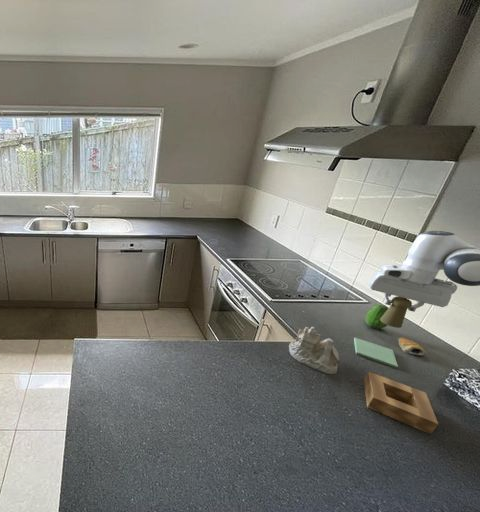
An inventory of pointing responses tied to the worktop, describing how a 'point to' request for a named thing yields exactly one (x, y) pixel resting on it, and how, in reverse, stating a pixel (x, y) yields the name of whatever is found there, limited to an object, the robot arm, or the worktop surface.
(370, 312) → the avocado
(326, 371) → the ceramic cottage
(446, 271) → the robot arm
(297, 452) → the worktop surface
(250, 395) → the worktop surface
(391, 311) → the cork
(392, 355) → the mat
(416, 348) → the pastry
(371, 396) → the holder
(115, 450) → the worktop surface
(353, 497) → the worktop surface
